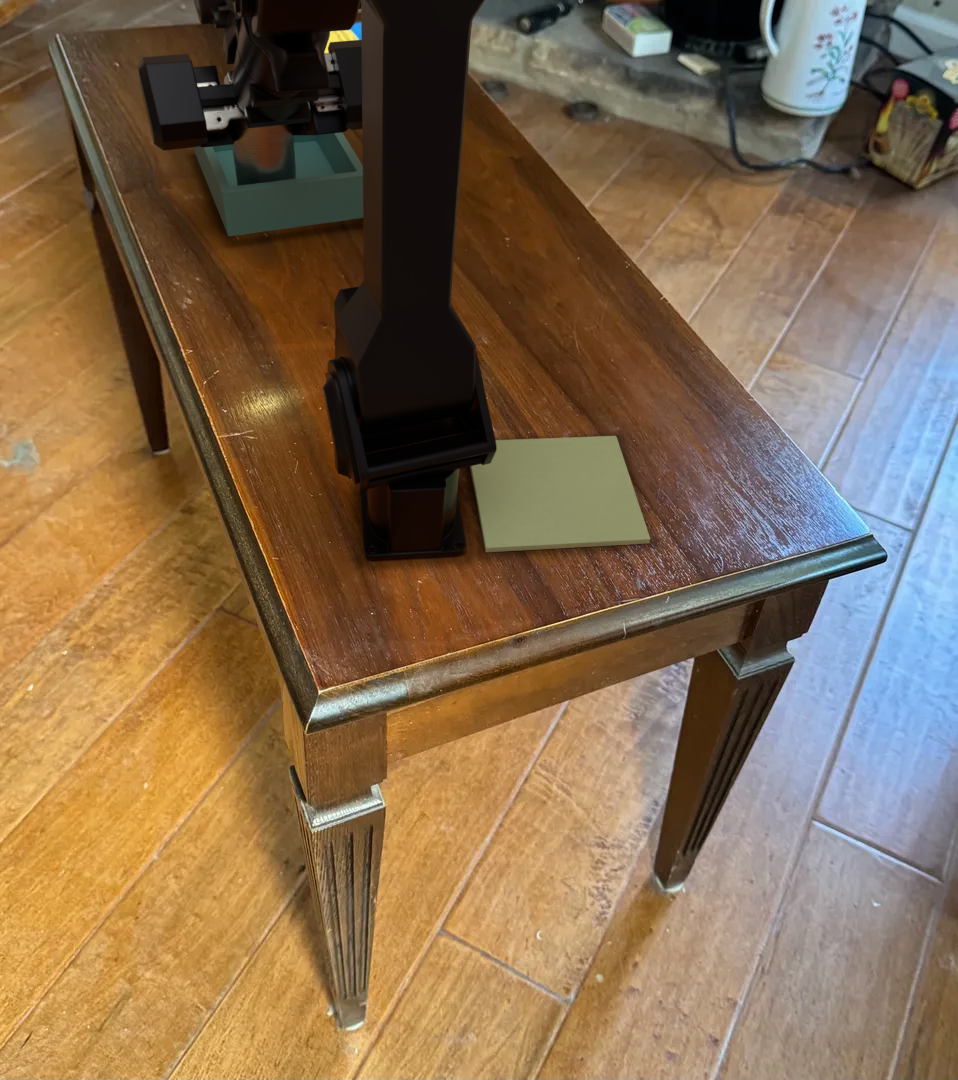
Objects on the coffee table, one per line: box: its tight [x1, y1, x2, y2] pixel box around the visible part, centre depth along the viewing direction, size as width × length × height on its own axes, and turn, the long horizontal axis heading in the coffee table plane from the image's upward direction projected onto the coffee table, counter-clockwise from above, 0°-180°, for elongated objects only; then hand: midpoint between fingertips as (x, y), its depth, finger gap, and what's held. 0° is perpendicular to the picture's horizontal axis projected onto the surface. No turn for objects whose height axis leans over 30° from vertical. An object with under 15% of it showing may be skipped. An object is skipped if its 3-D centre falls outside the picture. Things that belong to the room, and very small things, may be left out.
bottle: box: [223, 74, 297, 186], centre depth 81 cm, size 5×5×12 cm
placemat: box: [469, 435, 651, 553], centre depth 65 cm, size 10×11×1 cm
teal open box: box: [193, 132, 363, 237], centre depth 87 cm, size 16×13×5 cm
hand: (259, 132), depth 81 cm, fingers closed on bottle, 5 cm apart
